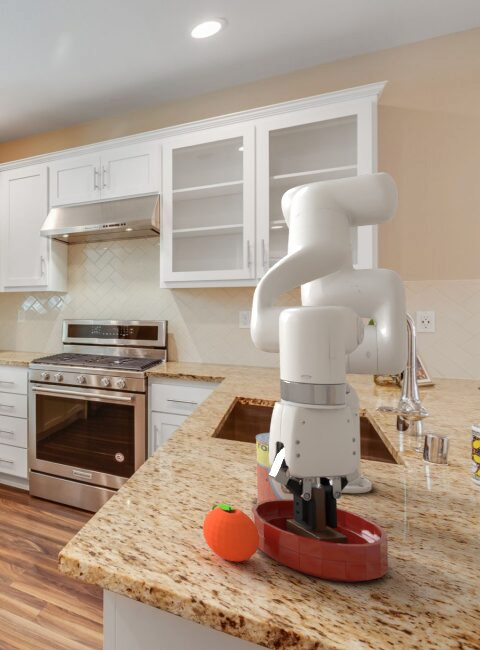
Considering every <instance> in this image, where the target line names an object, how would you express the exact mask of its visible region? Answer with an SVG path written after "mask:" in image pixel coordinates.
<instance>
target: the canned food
mask: <svg viewBox="0 0 480 650" xmlns="http://www.w3.org/2000/svg"><path fill="white" fill-rule="evenodd" d="M269 437H270V432H262V433H261V432H260V433H258V434H256V435H255V440H256V441H255V443H256V444H255V445H256V446H255V448H256V483H257V484H256V489H257V490H256V491H257V500H256V503H259V502H261V501H265V500H273V499H291V500H293V494H292V493H290V492H289V491H288V489H287V488H286V487H285V486H284V485H283V484H281V483H279V482H277V481H275V480H272V479H271V478H270V477H269V474H270V472H271V469H272V466H271V465H270V463H269ZM286 476H287V477H289V469H288V470H287V472H286ZM312 482H313V483H317V478H312ZM299 484H300V485H301V480H299Z"/></svg>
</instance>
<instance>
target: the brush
mask: <svg viewBox="0 0 480 650" xmlns="http://www.w3.org/2000/svg"><path fill="white" fill-rule="evenodd" d="M311 500H314V501H315V503H316V528H315V529H309V528H307V527H305V526H303V525H301V524H300V523H298V522H296V521H295V519H290V520H287V532H290V533H293V534H296V535H299V536H302V537H306V538H311V539H315V540H319V541H325V542H332V543H339V544H348V538H347V537H346V536H345V535H343V534H341V533H339V532H337V531H335V530H333V529H331V528H329V527H327V526H326V493H325V486H324V485H322V484H318V483H313V482H312V486H311Z"/></svg>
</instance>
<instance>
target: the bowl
mask: <svg viewBox="0 0 480 650" xmlns="http://www.w3.org/2000/svg"><path fill="white" fill-rule="evenodd" d="M290 519H294V504H293V500H291V499H273V500H265V501H261V502H259V503H257V502H256V503H254V504H253V505H252V507H251V520H252V521H253V522H254V524H255V526H256V528H257V530H258V533H259V545H258V549H259V550H260V551H262V553H264V554H265V555H267V556H269V557H270V558H271V559H272V560H274V561H276V562H278V563H280V564H281V565H283V566H285V567H287V568H290V569H292V570H294V571H298V572H299V573H302V574H306V575H309V576H313V577H317V578H319V579H320V578H321V579H325V580H331V581H337V582H351V583H352V582H364V581H370V580H374V579H379V578H381V577H383V576H385V574H387V573H388V572H389V549H388V548H389V547H388V532H387V531H386V530H385V529H384V528H383V527H382V526H381V525H379V523H376V522H374V521H373V520H371V519H369V518H367V517H365V516H363V515H361V514H357V513H355V512H352V511H349V510H347V509H343V508H341V507H337V528H331V529H333V530H335V531H337V532H339V533H341V534H343V535H345V536H346V537H347V538H348V544H339V543H332V542H325V541H319V540H315V539H311V538H306V537H302V536H299V535H296V534H293V533H290V532H287V520H290ZM326 526H327V525H326ZM327 527H329V526H327ZM329 528H330V527H329Z"/></svg>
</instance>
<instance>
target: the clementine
mask: <svg viewBox="0 0 480 650" xmlns="http://www.w3.org/2000/svg"><path fill="white" fill-rule="evenodd" d="M202 533H203V537H204V540H205V543H206V544H207V546H208V547H209V548H210V549H211V551H212V552H214V553H215V554H216V555H217V556H219V557H220V558H222V559H224V560H226V561H231V562H243V561H247V560H250V559H251V558H252V556H254V555H255V554H256V553H257V550H258V549H259V548H258V545H259V533H258V530H257V528H256V526H255V524H254V522H253V521H252V518H250V516H249V515H247V514H246V513H244V512H243V511H242V510H241V509H238V508H235V507H232V506H231V505H228V504H225V503H222V504H220V503H219V504H213V506H212V508H211V510H210V511H209V512H208V513H207V514H206V515H205V518H204V520H203V524H202Z"/></svg>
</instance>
